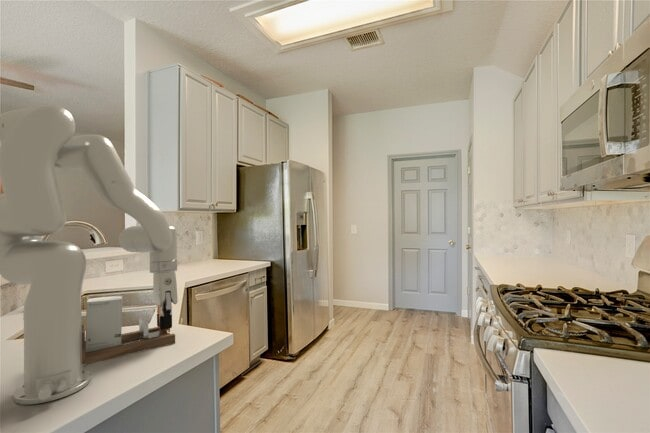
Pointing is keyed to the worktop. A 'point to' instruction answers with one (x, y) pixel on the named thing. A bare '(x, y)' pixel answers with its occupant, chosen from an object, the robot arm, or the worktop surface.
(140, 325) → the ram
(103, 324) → the skincare box
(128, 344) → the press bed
